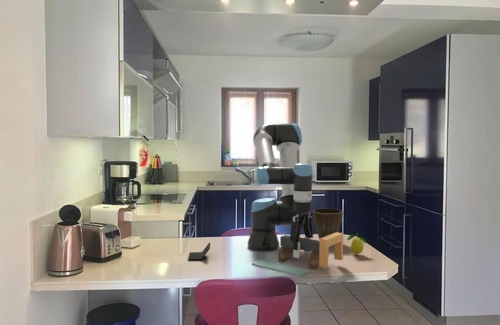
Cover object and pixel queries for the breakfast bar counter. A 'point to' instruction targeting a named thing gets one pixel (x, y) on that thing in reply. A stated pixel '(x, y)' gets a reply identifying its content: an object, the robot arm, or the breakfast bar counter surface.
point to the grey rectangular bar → (301, 243)
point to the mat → (281, 267)
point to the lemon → (356, 244)
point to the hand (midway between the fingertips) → (301, 255)
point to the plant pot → (327, 221)
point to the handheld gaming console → (198, 254)
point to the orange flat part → (327, 242)
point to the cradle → (287, 255)
